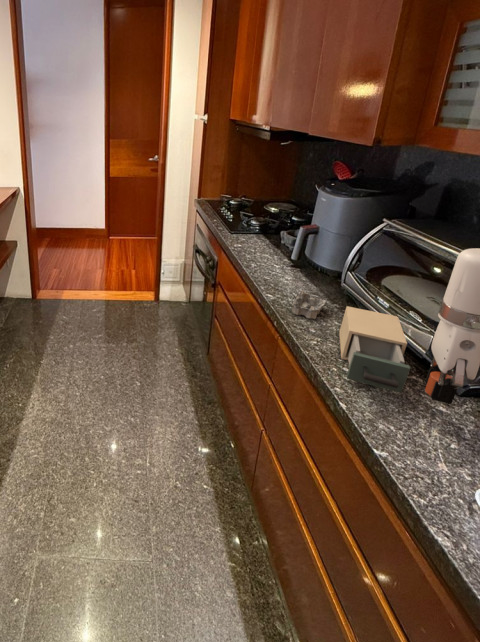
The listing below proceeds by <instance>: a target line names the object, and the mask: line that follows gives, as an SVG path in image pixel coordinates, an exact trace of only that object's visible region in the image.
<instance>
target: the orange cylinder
mask: <svg viewBox="0 0 480 642" xmlns="http://www.w3.org/2000/svg"><path fill="white" fill-rule="evenodd" d="M440 374H441V372H436V371H435V372H431V373H430V376H429V379H428V382H427V384H426V383H425V388H424V391H425V393H426V394H427V395H428V396H430V397H431V394H432V391H433V388H434V385H435V382H438V381H439V377H440ZM452 377H453V376H451V375H446V378H445V379H447V378H450V379H452Z"/></svg>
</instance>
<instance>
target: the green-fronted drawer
mask: <svg viewBox="0 0 480 642" xmlns="http://www.w3.org/2000/svg"><path fill="white" fill-rule="evenodd" d="M347 351H348V360H347V361H348V370H347V373H346V379H347V380H351V381H355V382H358V383H362V384H365V385H370V386H373V387H376V388H380V389H384V390H388V391H392V392H395V393H398V394H402V392H403V389H404V387H405V384H406V382H407V379H408V376H409V374H410V371H411V366H410V365H408V364H405V363H406V362H405V358H404V354H403V355H402V352H401V348H400V345H399V344H396V343H391V342H387V341H383V340H378V339H374V338H369V337H365V336H361V335H356V334H352V336H351V339H350V343H349V346H348V350H347Z"/></svg>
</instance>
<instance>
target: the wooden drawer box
mask: <svg viewBox="0 0 480 642" xmlns="http://www.w3.org/2000/svg"><path fill="white" fill-rule="evenodd" d="M352 334H356V335H361V336H365V337H369V338H374V339H378V340H383V341H387V342H391V343H396V344H399V345H400V348H401V352H402V355H403V356H404V354H405V352H406V348H407V345H408V342H407V339H406V338H407V337H406V336H405V333H404V330H403V327H402V325H401V322H400V318H399V316H398V317H397V316H396V315H392V314H387V313H383V312H377V311H372V310H369V309H368V310H367V309H362V308H358V307H353V306H348V305H346V307H345V311H344V315H343V317H342V320H341V325H340V329H339V346H340V347H339V348H340V357H341V358H340V359H341V360H345V361H348V351H347V350H348V346H349V343H350V339H351V336H352Z"/></svg>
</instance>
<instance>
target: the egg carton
mask: <svg viewBox="0 0 480 642" xmlns="http://www.w3.org/2000/svg"><path fill="white" fill-rule="evenodd" d="M326 302H327V301H326V300H325V299H322V298H317V297H316V296H314V297H311V294H310V293H308V292H305V290H304V289H303V290H301V291H300V292H299V294H298V295H297V296H296V297H295V299H293V302H292V304H291V306H292V308H291V312H292V313H293V314H294V315H297V316H300V315H301V316H304V317H305V318H307V319H309V320H310V319H313V320H316V319H317V316H318V315H319V314H320V311H322V310H323V307H324V305H325V304H326Z"/></svg>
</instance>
